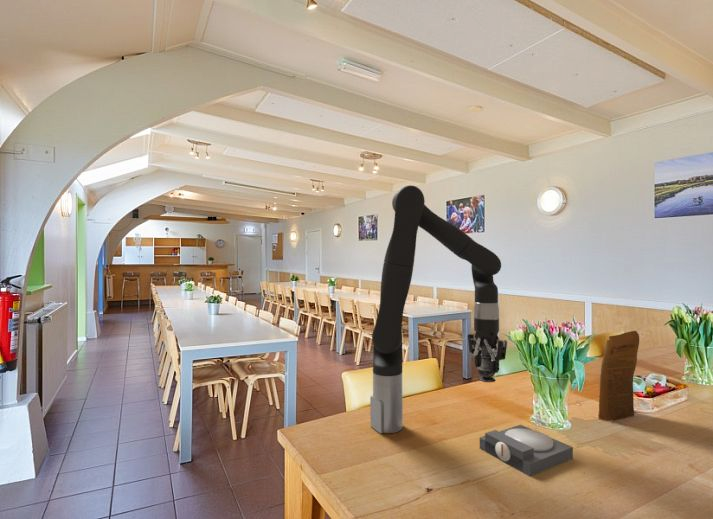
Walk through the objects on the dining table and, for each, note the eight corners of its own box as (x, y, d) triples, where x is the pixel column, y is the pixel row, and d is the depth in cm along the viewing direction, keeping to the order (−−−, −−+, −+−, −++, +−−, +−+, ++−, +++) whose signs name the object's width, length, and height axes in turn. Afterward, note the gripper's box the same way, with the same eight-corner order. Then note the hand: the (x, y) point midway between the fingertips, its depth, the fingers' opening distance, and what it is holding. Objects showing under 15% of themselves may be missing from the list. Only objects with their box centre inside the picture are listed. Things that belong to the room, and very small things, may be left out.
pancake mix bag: (648, 415, 129) (647, 331, 129) (608, 425, 122) (608, 336, 122) (627, 408, 136) (627, 328, 136) (589, 417, 129) (588, 332, 129)
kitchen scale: (529, 476, 94) (528, 456, 94) (478, 448, 108) (478, 430, 108) (572, 458, 102) (572, 439, 102) (520, 434, 116) (520, 417, 116)
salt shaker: (498, 383, 119) (497, 343, 119) (478, 382, 120) (477, 343, 120) (494, 377, 125) (494, 340, 125) (475, 376, 126) (475, 339, 126)
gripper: (460, 314, 127) (461, 366, 127) (496, 320, 114) (497, 377, 114) (477, 313, 131) (477, 363, 131) (513, 318, 118) (514, 374, 118)
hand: (486, 369), depth 122 cm, fingers closed on salt shaker, 6 cm apart
